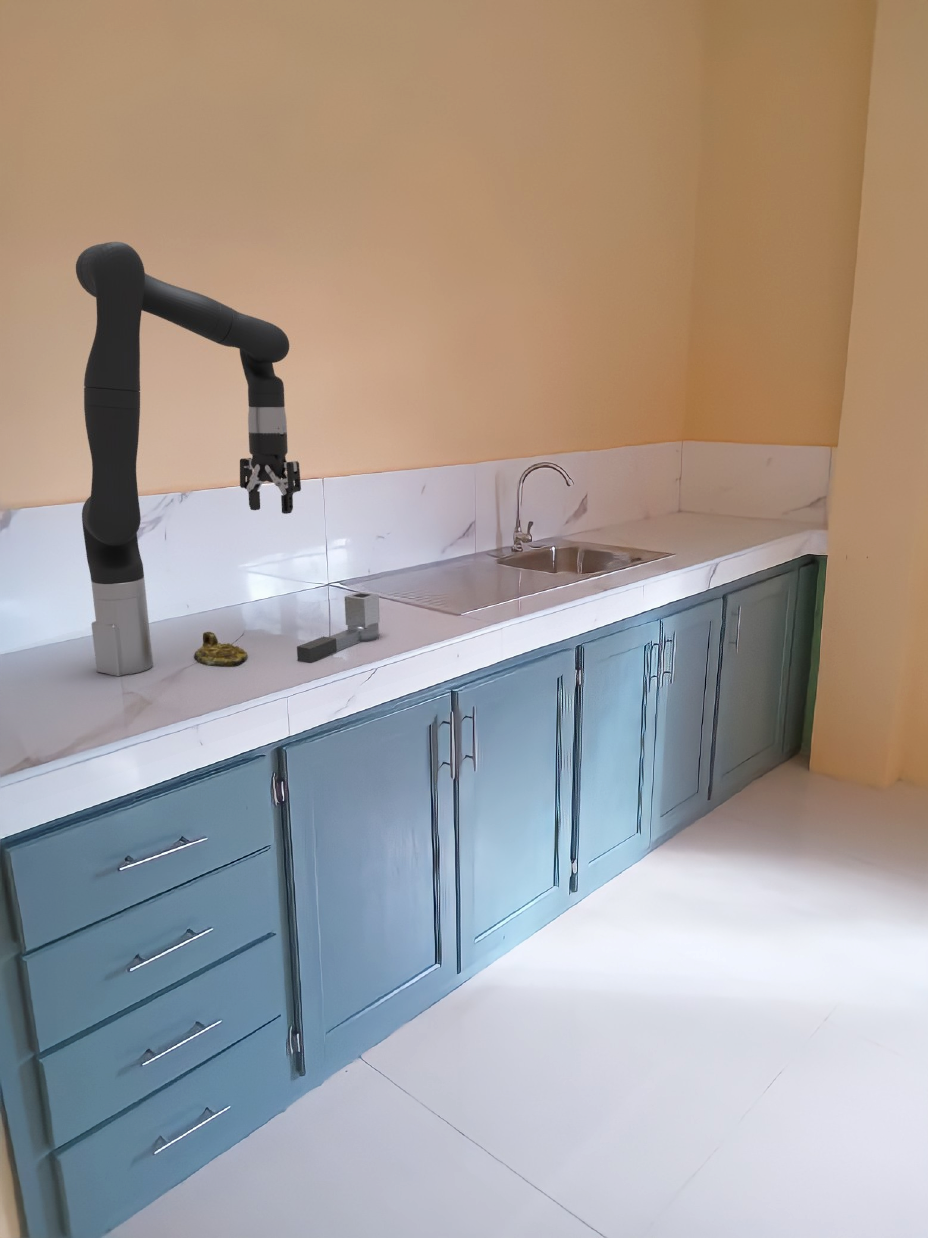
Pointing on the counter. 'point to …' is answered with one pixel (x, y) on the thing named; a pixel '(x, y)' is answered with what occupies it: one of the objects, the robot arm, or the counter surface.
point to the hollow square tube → (362, 609)
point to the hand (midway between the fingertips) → (271, 511)
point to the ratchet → (336, 642)
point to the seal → (219, 653)
